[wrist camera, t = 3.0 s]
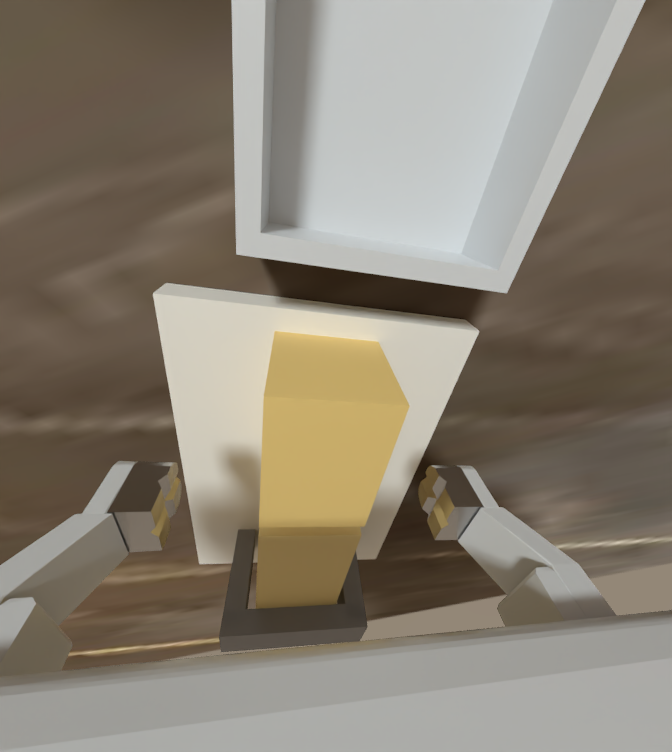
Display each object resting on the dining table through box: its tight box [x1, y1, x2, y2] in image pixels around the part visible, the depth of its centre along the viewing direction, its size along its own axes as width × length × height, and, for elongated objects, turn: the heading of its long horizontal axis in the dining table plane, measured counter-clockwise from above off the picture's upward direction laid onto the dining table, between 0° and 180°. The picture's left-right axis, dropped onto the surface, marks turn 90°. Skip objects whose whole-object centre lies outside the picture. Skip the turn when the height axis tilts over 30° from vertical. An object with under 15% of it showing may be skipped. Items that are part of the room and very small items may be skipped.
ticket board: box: [153, 283, 479, 652], centre depth 14 cm, size 12×18×6 cm, turn 171°
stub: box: [259, 331, 410, 528], centre depth 11 cm, size 4×6×4 cm, turn 171°
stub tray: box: [232, 0, 645, 293], centre depth 7 cm, size 8×10×3 cm
